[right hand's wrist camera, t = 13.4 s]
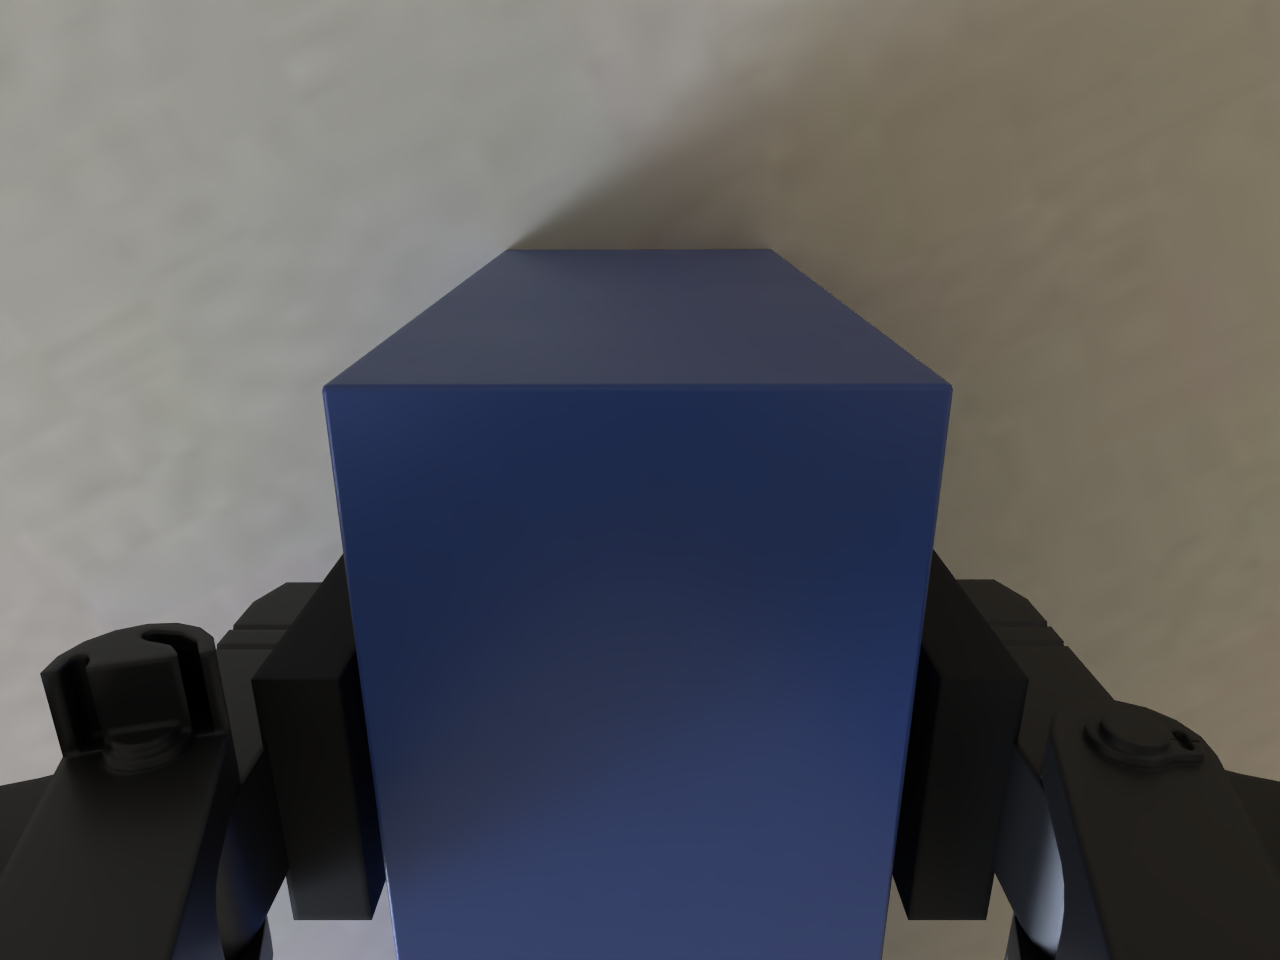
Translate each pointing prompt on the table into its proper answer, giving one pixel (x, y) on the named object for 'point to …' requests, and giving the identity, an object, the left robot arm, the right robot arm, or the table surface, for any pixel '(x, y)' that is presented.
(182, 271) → the table surface
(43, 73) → the table surface
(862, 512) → the bar
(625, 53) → the table surface
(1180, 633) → the table surface
